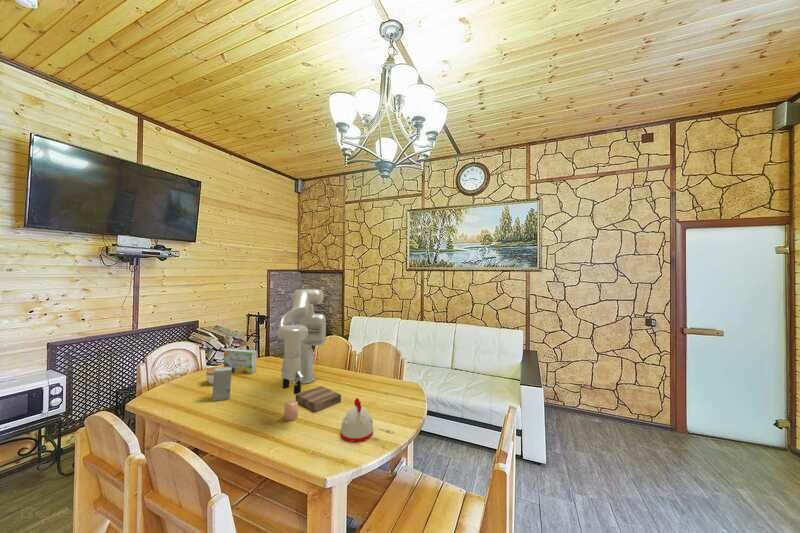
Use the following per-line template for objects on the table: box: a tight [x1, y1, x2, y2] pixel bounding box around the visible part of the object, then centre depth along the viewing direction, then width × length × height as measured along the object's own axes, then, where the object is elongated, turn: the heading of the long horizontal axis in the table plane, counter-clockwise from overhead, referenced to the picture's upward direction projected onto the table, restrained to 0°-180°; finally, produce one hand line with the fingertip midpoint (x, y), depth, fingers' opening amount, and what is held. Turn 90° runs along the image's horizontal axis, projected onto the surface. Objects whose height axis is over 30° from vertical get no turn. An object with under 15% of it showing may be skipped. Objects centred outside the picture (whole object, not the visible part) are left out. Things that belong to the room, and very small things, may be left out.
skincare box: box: [211, 366, 233, 402], centre depth 162 cm, size 8×7×16 cm
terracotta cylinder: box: [283, 400, 299, 422], centre depth 142 cm, size 6×6×7 cm
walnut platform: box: [294, 385, 342, 413], centre depth 160 cm, size 18×16×4 cm
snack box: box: [223, 347, 257, 375], centre depth 203 cm, size 21×6×15 cm, turn 81°
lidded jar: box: [205, 367, 219, 386], centre depth 182 cm, size 11×11×9 cm
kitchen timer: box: [340, 397, 374, 443], centre depth 131 cm, size 14×14×15 cm
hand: (291, 390), depth 142 cm, fingers open, 9 cm apart
